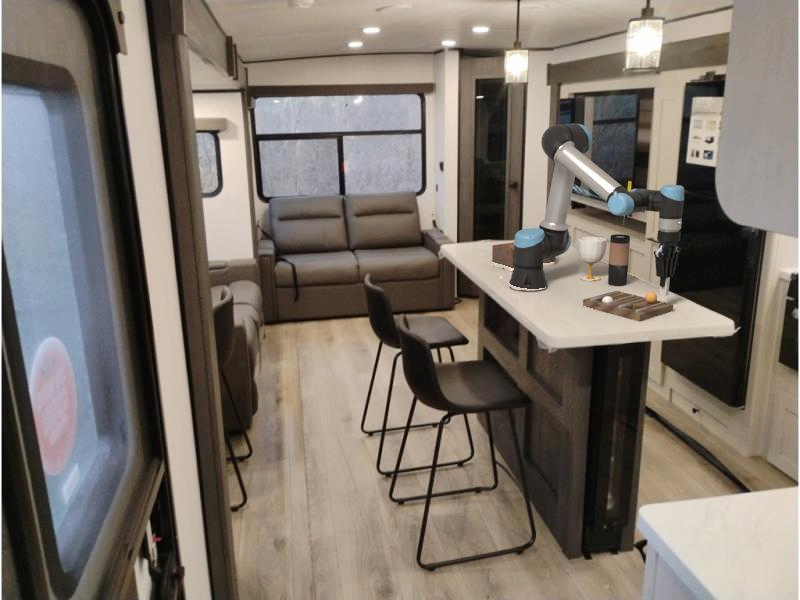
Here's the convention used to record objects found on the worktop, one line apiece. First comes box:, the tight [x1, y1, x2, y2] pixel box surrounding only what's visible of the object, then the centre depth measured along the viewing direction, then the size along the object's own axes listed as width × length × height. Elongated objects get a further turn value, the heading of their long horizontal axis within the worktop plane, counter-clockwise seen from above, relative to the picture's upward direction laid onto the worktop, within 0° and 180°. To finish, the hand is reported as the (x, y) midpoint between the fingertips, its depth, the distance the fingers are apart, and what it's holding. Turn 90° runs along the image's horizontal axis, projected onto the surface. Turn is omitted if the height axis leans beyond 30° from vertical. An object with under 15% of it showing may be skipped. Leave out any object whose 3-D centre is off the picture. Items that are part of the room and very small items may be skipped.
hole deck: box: [582, 290, 674, 323], centre depth 233 cm, size 24×19×3 cm
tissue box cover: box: [491, 241, 556, 268], centre depth 303 cm, size 26×14×10 cm, turn 120°
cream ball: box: [602, 296, 613, 303], centre depth 235 cm, size 4×4×4 cm
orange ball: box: [645, 291, 658, 303], centre depth 230 cm, size 4×4×4 cm
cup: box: [577, 236, 608, 281], centre depth 274 cm, size 12×12×17 cm
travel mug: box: [607, 233, 631, 287], centre depth 264 cm, size 8×8×20 cm
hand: (663, 294), depth 234 cm, fingers closed
